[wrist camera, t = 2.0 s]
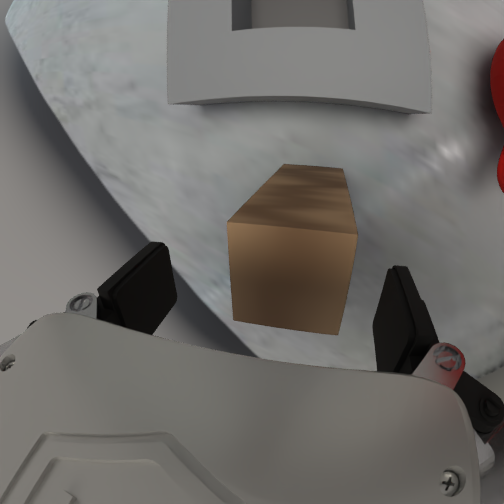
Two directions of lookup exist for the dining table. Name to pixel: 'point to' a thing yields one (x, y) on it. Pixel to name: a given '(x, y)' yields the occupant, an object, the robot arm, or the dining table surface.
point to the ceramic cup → (499, 99)
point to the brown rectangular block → (294, 251)
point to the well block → (300, 52)
